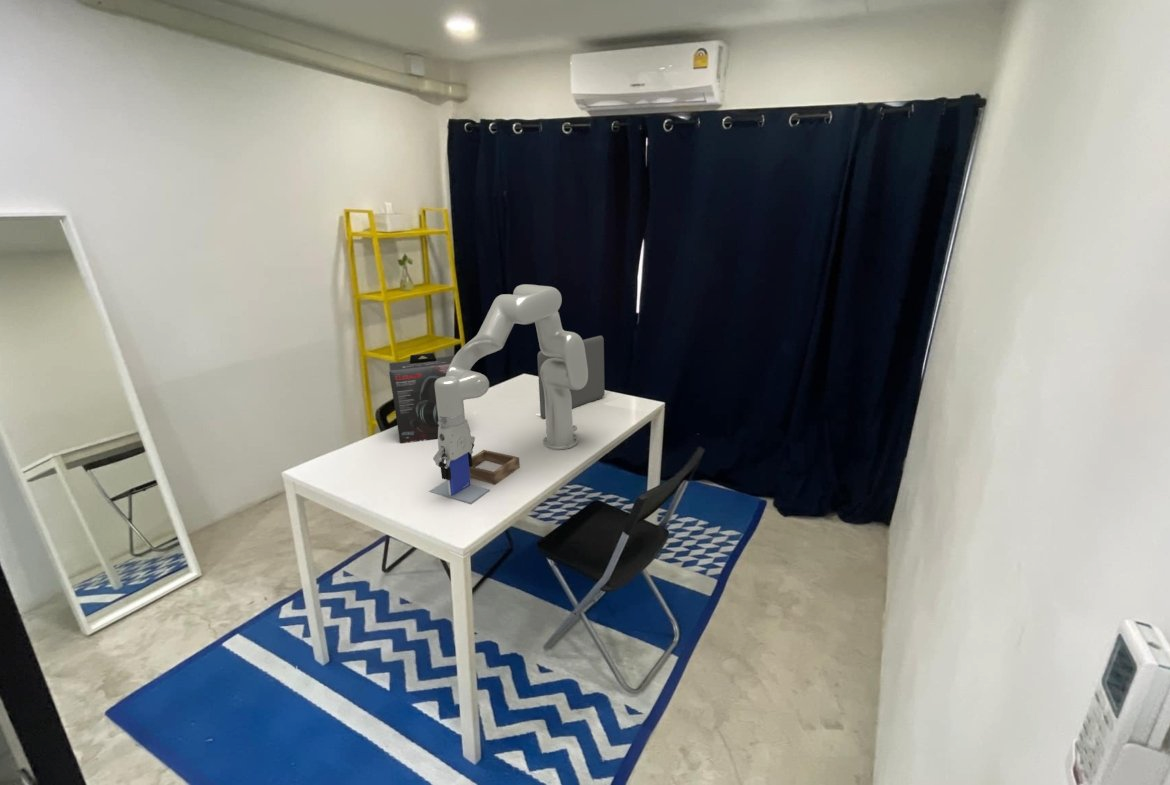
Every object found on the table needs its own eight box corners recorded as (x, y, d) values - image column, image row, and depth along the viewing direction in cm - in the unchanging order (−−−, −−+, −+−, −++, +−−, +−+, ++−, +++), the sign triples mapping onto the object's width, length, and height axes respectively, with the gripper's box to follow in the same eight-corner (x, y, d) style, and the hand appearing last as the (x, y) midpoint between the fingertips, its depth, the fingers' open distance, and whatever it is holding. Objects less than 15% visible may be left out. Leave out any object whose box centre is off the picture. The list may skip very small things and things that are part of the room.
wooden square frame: (484, 460, 190) (483, 449, 189) (519, 468, 184) (519, 457, 182) (459, 476, 179) (457, 465, 178) (495, 485, 173) (494, 473, 171)
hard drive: (471, 484, 172) (468, 448, 168) (452, 496, 165) (448, 458, 161) (467, 483, 172) (464, 447, 168) (448, 494, 166) (444, 457, 162)
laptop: (560, 386, 269) (558, 327, 259) (606, 399, 249) (605, 335, 240) (497, 407, 243) (492, 341, 234) (542, 423, 223) (539, 352, 214)
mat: (449, 481, 176) (448, 478, 176) (490, 491, 169) (489, 489, 169) (429, 493, 169) (429, 491, 168) (471, 504, 161) (470, 502, 161)
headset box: (399, 449, 202) (387, 361, 191) (398, 436, 213) (387, 352, 203) (467, 438, 209) (459, 353, 199) (463, 427, 220) (455, 346, 210)
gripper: (441, 431, 152) (447, 487, 158) (480, 411, 167) (485, 463, 172) (420, 427, 156) (427, 482, 161) (461, 407, 170) (466, 459, 176)
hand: (457, 472), depth 167 cm, fingers open, 9 cm apart
